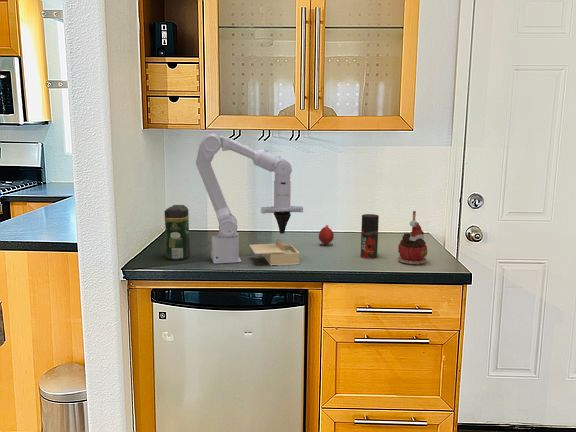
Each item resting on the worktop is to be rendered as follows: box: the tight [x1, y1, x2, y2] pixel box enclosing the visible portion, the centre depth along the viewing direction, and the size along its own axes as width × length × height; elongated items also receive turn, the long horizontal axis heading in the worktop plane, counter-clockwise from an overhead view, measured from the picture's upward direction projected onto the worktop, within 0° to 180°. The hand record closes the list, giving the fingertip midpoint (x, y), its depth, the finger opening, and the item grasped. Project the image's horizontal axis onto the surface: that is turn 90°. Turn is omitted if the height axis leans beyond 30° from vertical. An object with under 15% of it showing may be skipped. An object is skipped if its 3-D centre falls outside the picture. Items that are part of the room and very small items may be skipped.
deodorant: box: [360, 213, 380, 260], centre depth 197 cm, size 6×6×15 cm
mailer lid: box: [249, 238, 285, 255], centre depth 190 cm, size 10×12×2 cm
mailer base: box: [263, 244, 301, 267], centre depth 192 cm, size 10×12×4 cm
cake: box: [397, 210, 428, 265], centre depth 190 cm, size 11×9×18 cm
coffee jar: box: [163, 204, 191, 261], centre depth 195 cm, size 10×8×19 cm
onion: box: [318, 224, 335, 246], centre depth 215 cm, size 6×6×8 cm
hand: (281, 233), depth 193 cm, fingers closed
